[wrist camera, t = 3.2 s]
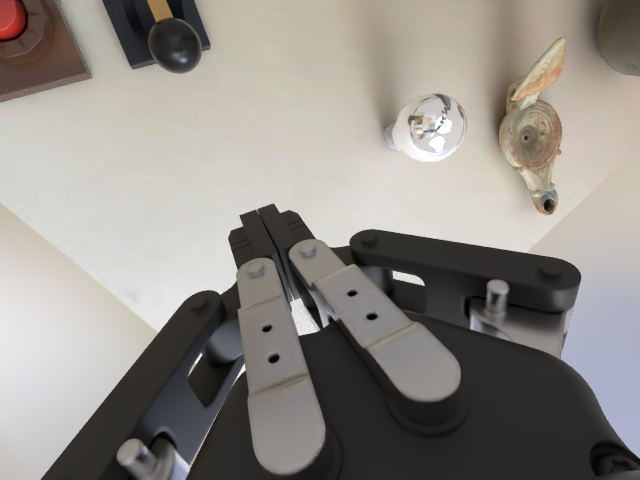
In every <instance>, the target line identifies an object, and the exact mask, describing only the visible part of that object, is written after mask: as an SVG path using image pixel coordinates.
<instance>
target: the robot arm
mask: <svg viewBox="0 0 640 480" xmlns="http://www.w3.org/2000/svg"><path fill="white" fill-rule="evenodd" d="M257 211H258V213H257ZM257 211H256V210H253V211H250V212H248V213H245V214H242V215H239V216H240V219H241V221H242V224H243V227H240V228H237V229H234V230H232V231H231V232H230V235H229V237H228V240H229V243H230V246H231V250H232V253H233V256H234V259H235V263H236V266H237V269H238V271H237V274H236V277H237V281H236V282H235V284H234V285H233V286H232V287H231V288H230V289H228V290H227V291H226V292H224V293H222V294H221V295H219V293H217V292H215V291H211V290H207V291H202V292H199V293H196V294H194V295H192V296H190V297H189V298H188V299H186V300H185V301H184V302H183V303H182V305H181V306H180V307H179V308H178V310H177V311H176V312H175V313H174V315H173V316H172V317H171V318H170V320H169V321H168V322H167V323H166V325H165V326H164V327H163V328H162V329H161V331H160V332H159V333H158V334H157V336H156V337H155V338H154V339H153V341H152V342H151V343H150V344H149V346H148V347H147V348H146V349H145V351H144V352H143V353H142V354H141V356H140V357H139V358H138V359H137V361H136V362H135V363H134V364H133V365H132V367H131V368H130V369H129V370H128V372H127V373H126V374H125V376H124V377H123V378H122V379H121V380H120V382H119V383H118V384H117V386H116V387H115V388H114V389H113V390H112V392H111V393H110V394H109V395H108V397H107V398H106V399H105V400H104V402H103V403H102V404H101V405H100V406H99V408H98V409H97V410H96V411H95V413H94V414H93V415H92V416H91V418H90V419H89V420H88V422H87V423H86V424H85V425H84V426H83V428H82V429H81V430H80V431H79V433H78V434H77V435H76V436H75V438H74V439H73V440H72V441H71V443H70V444H69V445H68V446H67V447H66V449H65V450H64V451H63V453H62V454H61V455H60V456H59V457H58V459H57V460H56V461H55V462H54V464H53V465H52V466H51V468H50V469H49V470H48V471H47V472H46V474H45V475H44V476H43V477H42V479H41V480H640V459H639V458H638V457H637V456H636V455H635V454H634V453H633V452H631V451H630V450H629V449H628V448H627V446H626V445H625V444H624V443H623V441H622V440H621V439H620V438H619V436H618V435H617V434H616V432H615V431H614V429H613V428H612V427H611V425H610V424H609V422H608V420H607V419H606V417H605V415H604V413H603V411H602V409H601V407H600V405H599V403H598V401H597V398H596V396H595V394H594V392H593V391H592V389H591V388H590V387H589V385H588V383H587V382H586V381H585V380H584V379H583V378H582V376H581V375H580V374H579V373H577V372H576V371H575V370H574V369H573V368H572V367H571V366H569V365H568V364H566V363H565V362H564V361H562V360H561V352H562V349H563V346H564V342H565V338H566V334H567V331H568V327H569V323H570V319H571V316H572V312H573V308H574V304H575V300H576V296H577V293H578V289H579V285H580V281H581V274H580V272H579V270H578V269H577V268H576V267H575V266H574V265H572V264H571V263H569V262H567V261H564V260H562V259H558V258H553V257H546V256H540V255H533V254H528V253H521V252H515V251H509V250H502V249H496V248H490V247H483V246H477V245H471V244H464V243H458V242H452V241H445V240H439V239H433V238H426V237H420V236H414V235H407V234H401V233H395V232H388V231H382V230H375V229H370V230H364V231H361V232H358V233H356V234H355V235H353V236H352V237H351V239H350V242H349V244H350V246H344V247H337V248H331V247H328V246H327V245H326V244H325V243H324V242H323V241H321V240H317V239H316V238H315V237H314V236H313V234H312V233H311V231H310V230H309V229H308V227H307V226H306V225H305V223H304V222H303V221H302V219H301V217H300V216H299V215H298V213H295V212H293V211H291V210H288V211H285V212H282V213H279V211H278V209H277V208H276V206H275V205H274V203H273V204H270V205H268V206H265V207H262V208H259V209H257ZM258 214H259V215H258ZM392 270H393V271H397V272H402V273H407V274H411V275H415V276H418V277H419V278H421V279H422V280H423V282H424V284H425V286H422V285H418V284H413V283H409V282H405V281H400V280H396V279H393V272H392ZM289 289H290V290H289ZM290 291H291V293H290ZM291 294H292V296H293V298H294V300H296V299H298V298H301V299H302V301H303V304H304V308H305V311H306V313H307V315H308V316H309V318H310V320H311V321H312V323H313V324H314V326H315V327H316V329H317V331H318V332H315V333H311V334H306V335H301V336H299V335H298V332H297V329H296V326H295V323H294V320H293V317H292V314H291V313H292V308H291V305H290V302H291V301H293V299H292V296H291ZM200 353H202V357H201V358H200V360H199V361H198V363H197V364H196V366H195V368H194V369H193V371H192V372H191V374H190V375H189V377H188V374H189V371H190V369H191V367H192V365H193V364H194V362H195V361H196V359H197V358H198V356H199V355H200ZM244 363H245V367H246V370H245V371H244V372H243V373H242V374H241V375H240V377H239V378H238V379H237V380H236V382H235V383H234V381H235V379H236V378H237V376H238V374H239V372H240V370H241V368H242V366H243V365H244ZM233 383H234V384H233ZM232 385H233V386H232ZM231 387H232V388H231ZM228 392H229V393H228ZM227 394H228V395H227ZM226 396H227V397H226ZM225 398H226V399H225ZM224 400H225V401H224ZM223 402H224V403H223ZM222 404H223V405H222ZM221 406H222V407H221ZM220 407H221V409H220ZM219 409H220V411H219ZM218 411H219V413H218ZM217 413H218V415H217ZM216 415H217V417H216ZM215 417H216V419H215ZM214 419H215V421H214V423H213V425H212V427H211V429H210V431H209V433H208V435H207V437H206V439H205V441H204V443H203V445H202V447H201V449H200V451H199V453H198V455H197V457H196V459H195V461H194V463H193V465H192V467H191V469H190V467H189V465H190V463H191V461H192V459H193V458H194V456H195V454H196V452H197V450H198V448H199V446H200V444H201V443H202V441H203V439H204V437H205V435H206V433H207V431H208V430H209V428H210V426H211V424H212V422H213V420H214Z"/></svg>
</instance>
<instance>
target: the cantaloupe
mask: <svg viewBox="0 0 640 480" xmlns="http://www.w3.org/2000/svg"><path fill="white" fill-rule="evenodd" d="M597 44H598V48H599V51H600V54H601V56H602V58H603V59H604V60H605V62H606V63H607V64H608V65H609V66H610V67H611V68H613V69H614V70H615V71H617V72H619V73H622V74H625V75H632V76H640V0H606V1H605V4H604V6H603V9H602V12H601V15H600V18H599V22H598V27H597Z"/></svg>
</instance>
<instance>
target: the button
mask: <svg viewBox="0 0 640 480" xmlns="http://www.w3.org/2000/svg"><path fill="white" fill-rule="evenodd" d="M25 24H26V15H25V11H24V9H23V7H22V5H21V3H20V2H19V1H18V0H0V39H1V40H6V39H11V38H14V37H16V36H18V35H19V34H20V33H21V32H22V31H23V29H24V27H25Z"/></svg>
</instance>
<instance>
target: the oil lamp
mask: <svg viewBox="0 0 640 480" xmlns="http://www.w3.org/2000/svg"><path fill="white" fill-rule="evenodd" d="M565 40H566V36H564V37H562V38H559V39H558V40H557V41H555V42H554V43H553V44H552V45H551V46H550V47H549V49H548V50H547V51H546V52H545V53H544V54H543V55H542V56H541V57H540V58H539V60H538V61H537V62H536V63H535V64H534V66H533V67H532V68H531V70H530V71H529V72H528V74H527V75H526V76H524V77H522V78H520V79H519V80H517V81H515V82H514V83H512V84H511V86H510V87H509V89H508V92H507V99H506V103H507V105H506V115H505V117H504V118H503V120H502V122H501V125H500V129H499V145H500V148H501V150H502V153H503V154H504V156H505V158H506V159H507V160H508V161H509V163H510V164H511V165H512V166H513V167H514V169H515V170H516V171H518V172H519V173H520V174H521V176H522V177H523V179H524V181H525V183H526V184H527V187H528V189H529V192H530V194H531V197H532V200H533V202H534V204H535V206H536V208H537V210H538V211H539V212H540V213H542V214H544V215H551V214H552V213H553V212H554V211H555V209H556V207H557V204H558V195H557V192H556V191H555V189H554V187H555V185H554V184H553V183H551V173H552V167H553V164H554V160H555V158H556V156H559V155H560V154H561V150H559V147H560V144H561V139H562V127H561V122H560V119H559V116H558V114H557V113H556V111H555V110H554V109H553V107H552V106H550V105H549V104H548V103H546V102H543V101H541V100H537V97H538V96H539V94H540V92H541V91H542V90H543V89H545V88H547V87H549V86H550V85H551V84H553V83H554V82H555V81H556V79H557V78H558V76H559V75H560V73H561V71H562V68H563V65H564V60H565V51H566V50H565ZM515 90H516V91H515Z"/></svg>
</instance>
